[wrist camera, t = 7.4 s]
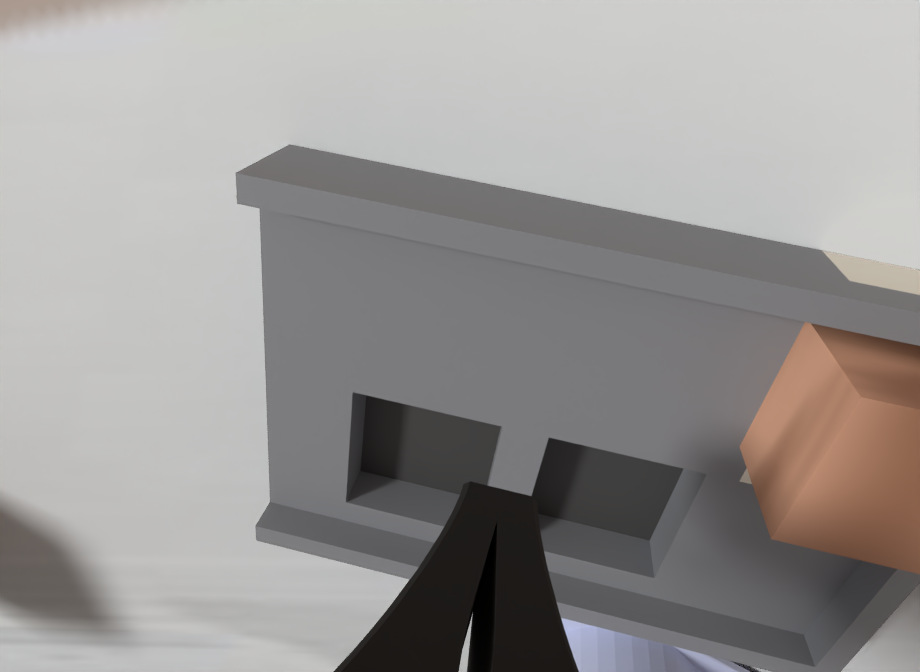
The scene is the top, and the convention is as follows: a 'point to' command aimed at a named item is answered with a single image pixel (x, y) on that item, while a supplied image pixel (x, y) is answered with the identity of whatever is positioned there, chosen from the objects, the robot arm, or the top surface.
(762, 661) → the grey divided tray
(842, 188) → the top surface
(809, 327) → the block
